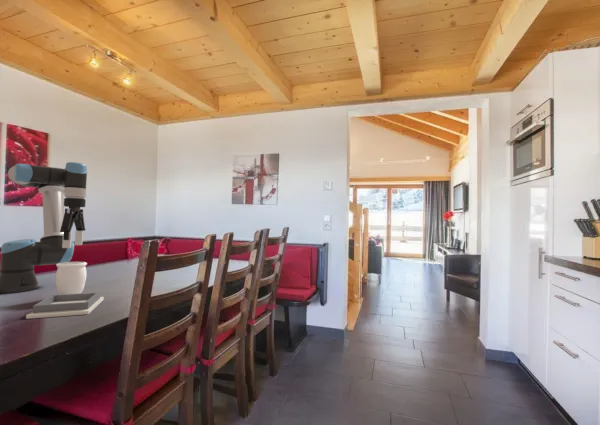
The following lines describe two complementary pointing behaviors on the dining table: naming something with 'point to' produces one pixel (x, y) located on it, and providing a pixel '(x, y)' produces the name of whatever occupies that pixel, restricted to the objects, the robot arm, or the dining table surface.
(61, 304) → the socket board
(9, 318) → the dining table surface
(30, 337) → the dining table surface
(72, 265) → the jar
